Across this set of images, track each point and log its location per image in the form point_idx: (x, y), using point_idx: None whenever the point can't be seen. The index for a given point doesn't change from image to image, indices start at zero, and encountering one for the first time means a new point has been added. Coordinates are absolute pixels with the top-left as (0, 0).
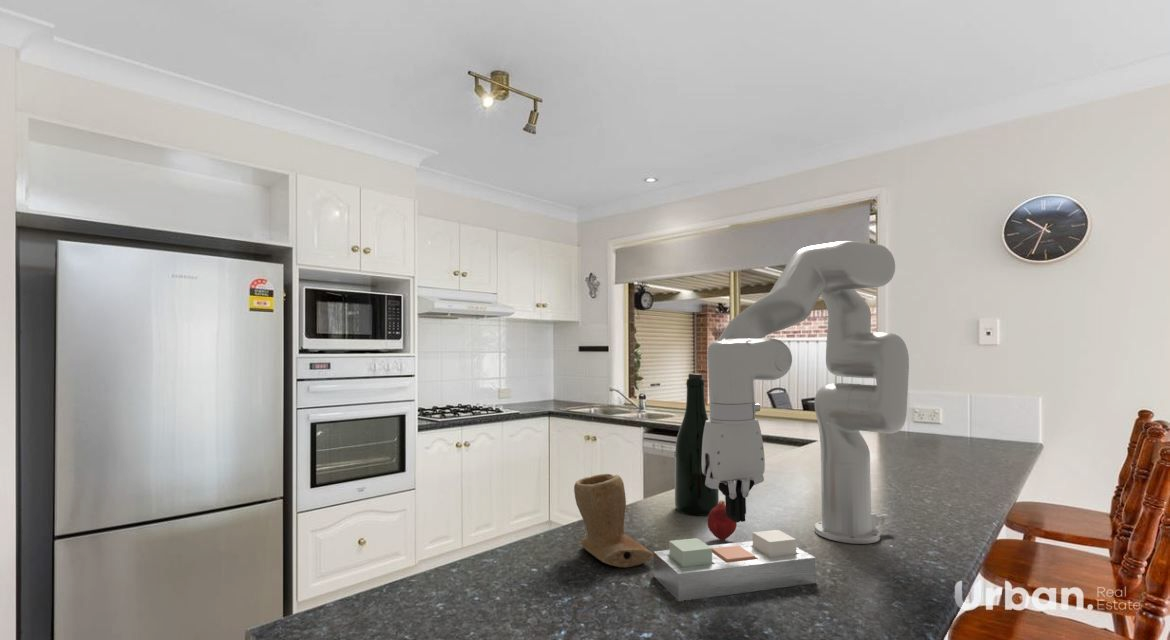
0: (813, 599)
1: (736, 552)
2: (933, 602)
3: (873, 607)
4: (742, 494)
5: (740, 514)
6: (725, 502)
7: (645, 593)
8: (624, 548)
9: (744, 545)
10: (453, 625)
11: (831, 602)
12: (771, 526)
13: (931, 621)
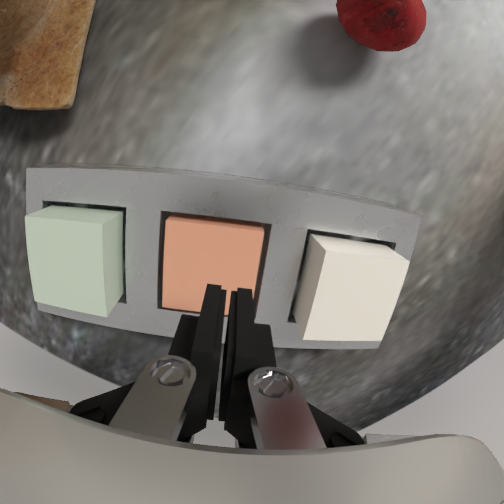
0: (296, 364)
1: (217, 278)
2: (414, 395)
3: (347, 397)
4: (235, 441)
5: (222, 367)
6: (172, 342)
7: (25, 233)
8: (8, 98)
9: (294, 221)
10: None
11: (312, 377)
12: (488, 56)
13: (364, 425)
